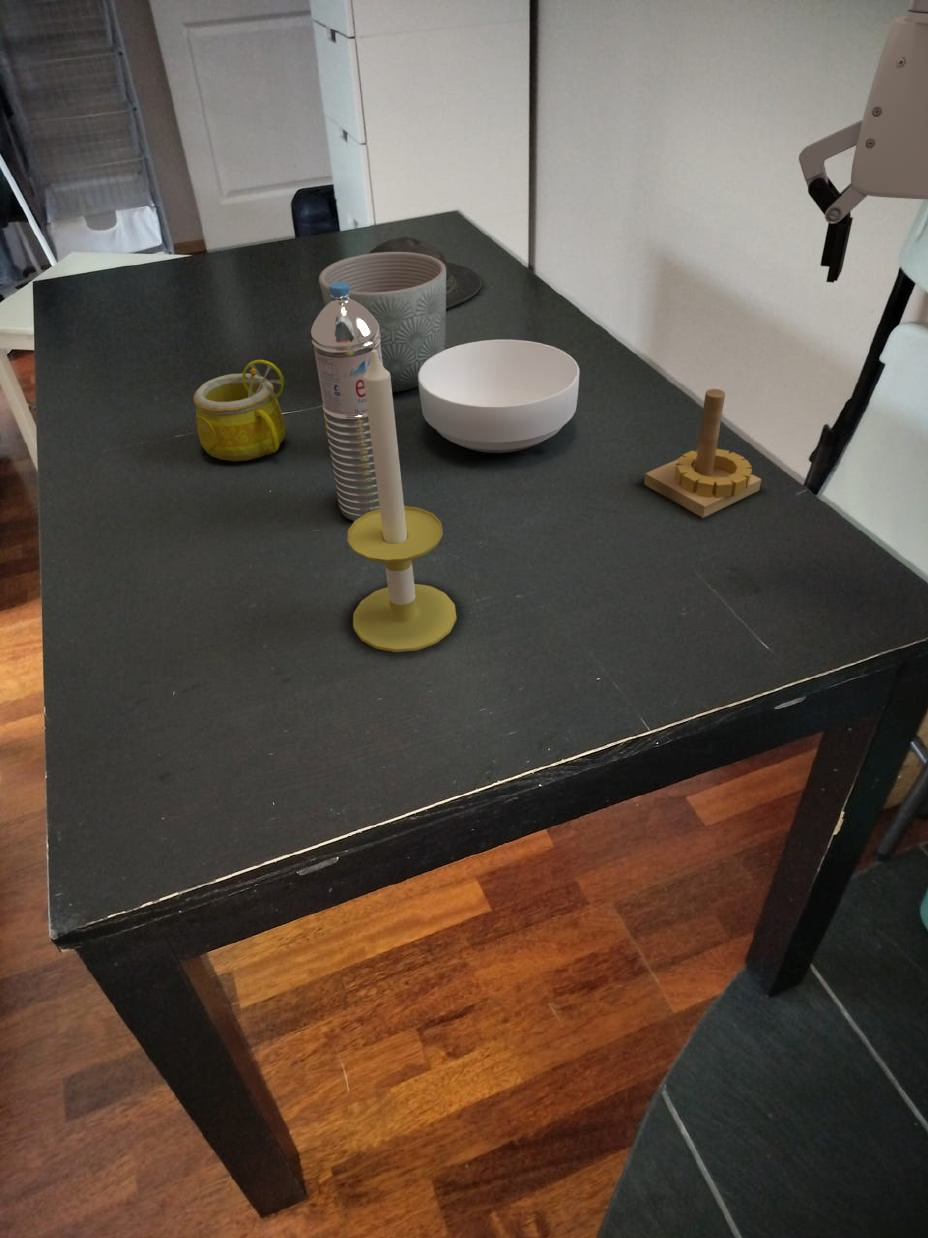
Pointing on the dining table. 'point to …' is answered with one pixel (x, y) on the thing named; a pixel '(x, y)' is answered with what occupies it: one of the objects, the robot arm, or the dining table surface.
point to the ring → (712, 485)
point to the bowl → (499, 393)
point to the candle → (395, 541)
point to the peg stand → (700, 465)
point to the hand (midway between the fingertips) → (904, 282)
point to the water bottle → (347, 396)
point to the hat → (465, 277)
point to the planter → (398, 306)
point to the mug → (240, 415)
